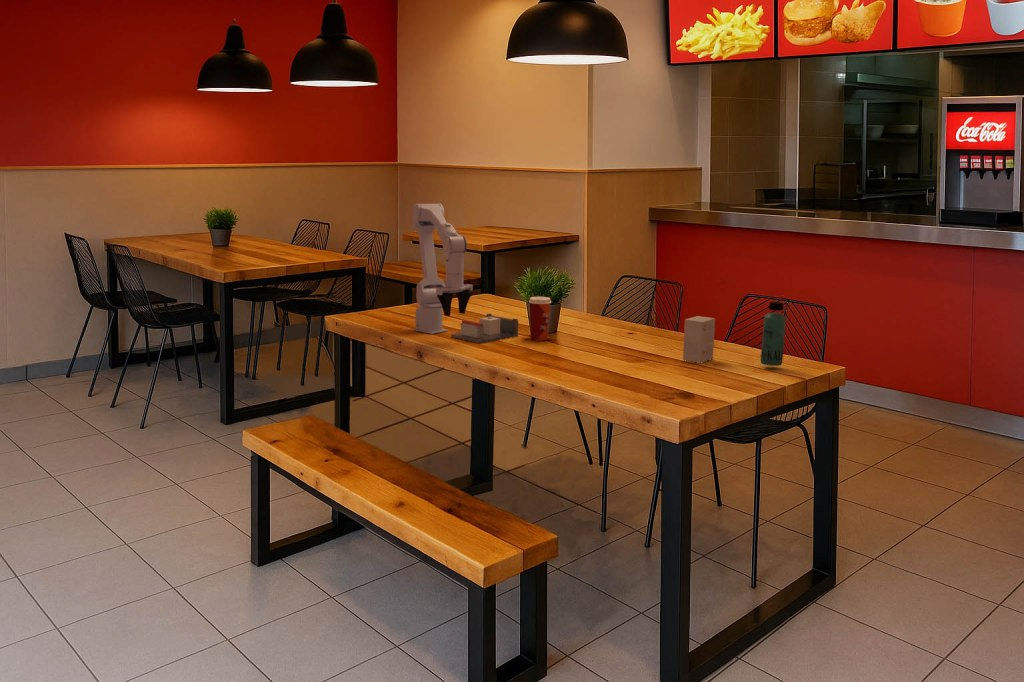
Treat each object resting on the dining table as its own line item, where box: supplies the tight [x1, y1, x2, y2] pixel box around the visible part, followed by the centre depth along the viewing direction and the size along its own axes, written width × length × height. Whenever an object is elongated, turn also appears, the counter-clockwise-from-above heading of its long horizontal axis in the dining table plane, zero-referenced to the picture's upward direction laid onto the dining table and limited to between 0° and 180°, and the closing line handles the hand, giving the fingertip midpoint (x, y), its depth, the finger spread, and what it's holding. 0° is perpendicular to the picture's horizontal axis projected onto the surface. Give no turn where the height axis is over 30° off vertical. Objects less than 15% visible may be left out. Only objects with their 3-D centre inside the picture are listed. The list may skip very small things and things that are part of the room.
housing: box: [478, 316, 500, 335], centre depth 315 cm, size 5×5×6 cm
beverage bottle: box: [759, 301, 787, 367], centre depth 273 cm, size 6×7×20 cm
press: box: [450, 313, 519, 344], centre depth 313 cm, size 14×18×6 cm
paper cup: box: [528, 296, 552, 342], centre depth 310 cm, size 8×8×14 cm
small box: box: [682, 315, 716, 364], centre depth 283 cm, size 8×6×13 cm
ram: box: [460, 319, 484, 338], centre depth 309 cm, size 9×3×5 cm, turn 47°
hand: (454, 314), depth 302 cm, fingers open, 6 cm apart
